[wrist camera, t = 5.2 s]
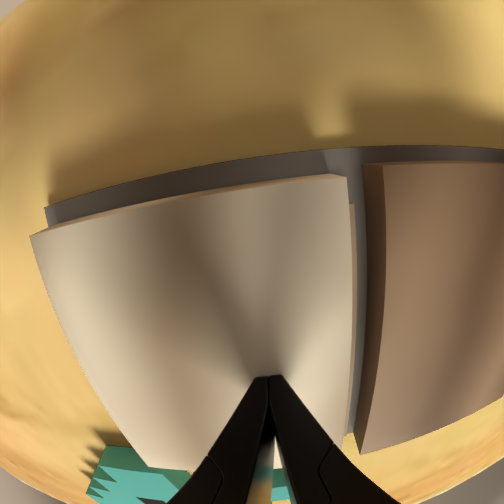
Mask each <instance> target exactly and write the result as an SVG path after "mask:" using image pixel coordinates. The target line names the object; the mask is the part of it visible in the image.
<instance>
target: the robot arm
mask: <svg viewBox="0 0 504 504" xmlns="http://www.w3.org/2000/svg"><path fill="white" fill-rule="evenodd" d="M275 439H276V444H277V448H278V452H279V457H280V461H281V465H282V469H283V473H284V477H285V481H286V485H287V489H288V493H289V497H290V501H291V504H401V503H399V502H398V501H396V500H395V499H393V498H392V497H391V496H390V495H388V494H387V493H386V492H385V491H383V490H382V489H381V488H380V487H378V486H377V485H376V484H375V483H374V482H372V481H371V480H370V479H369V478H368V477H366V476H365V475H364V474H363V473H362V472H361V471H360V470H359V469H358V468H357V467H356V466H354V465H353V464H352V463H351V461H350V460H349V459H348V458H347V457H346V456H345V455H344V454H343V452H342V451H341V450H340V449H339V448H338V446H337V445H336V444H334V442H333V440H332V439H331V438H330V437H329V435H328V434H327V433H326V432H325V430H324V429H323V428H322V426H321V425H320V424H319V423H318V421H317V420H316V419H315V417H314V416H313V415H312V414H311V412H310V411H309V410H308V408H307V407H306V406H305V404H304V403H303V402H302V401H301V399H300V398H299V397H298V395H297V394H296V393H295V391H294V390H293V389H292V387H291V386H290V385H289V383H288V382H287V381H286V379H285V378H284V376H283V375H281V374H277V375H270V376H269V377H268V376H260V377H255V378H254V379H253V381H252V383H251V384H250V386H249V388H248V389H247V391H246V393H245V394H244V396H243V398H242V399H241V401H240V403H239V404H238V406H237V408H236V409H235V411H234V413H233V414H232V416H231V417H230V419H229V421H228V422H227V424H226V425H225V427H224V429H223V430H222V432H221V433H220V435H219V436H218V438H217V440H216V441H215V443H214V444H213V446H212V447H211V449H210V450H209V452H208V453H207V455H208V456H205V458H204V459H203V461H202V462H201V464H200V465H199V466H198V468H197V469H196V470H195V472H194V473H193V474H192V476H191V477H190V478H189V479H188V481H187V482H186V483H185V484H184V485H183V486H182V487H181V488H180V490H179V491H178V492H177V493H176V494H175V495H174V496H173V497H172V498H171V499H170V500H169V501H168V502H167V503H166V504H271V493H272V480H273V467H274V452H275Z"/></svg>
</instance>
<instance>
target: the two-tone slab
mask: <svg viewBox="0 0 504 504" xmlns="http://www.w3.org/2000/svg"><path fill="white" fill-rule="evenodd" d="M321 174H335V175H339V176H344V177H347V187H348V199H349V201H350V202H352V203H354V211H355V228H356V252H357V319H356V343H355V359H354V372H353V383H352V393H351V403H350V411H349V419H348V426H347V433H352V432H353V433H354V436H355V440H356V443H357V447H358V450H359V454H360V455H363V454H366V453H370V452H374V451H377V450H381V449H384V448H388V447H391V446H394V445H397V444H400V443H403V442H406V441H409V440H412V439H415V438H417V437H420V436H423V435H425V434H428V433H430V432H433V431H435V430H438V429H440V428H442V427H445V426H447V425H449V424H451V423H454V422H456V421H458V420H460V419H462V418H464V417H466V416H468V415H470V414H472V413H474V412H476V411H478V410H480V409H482V408H483V407H485V406H487V405H489V404H491V403H492V402H494V401H496V400H498V399H499V398H501V397H502V396H503V394H504V150H502V149H491V148H478V147H461V146H429V145H402V146H368V147H350V148H335V149H322V150H311V151H301V152H292V153H283V154H275V155H267V156H260V157H253V158H246V159H240V160H233V161H227V162H221V163H216V164H210V165H205V166H199V167H194V168H189V169H184V170H179V171H174V172H170V173H165V174H161V175H156V176H152V177H148V178H143V179H139V180H135V181H131V182H127V183H123V184H120V185H116V186H112V187H108V188H105V189H101V190H98V191H94V192H91V193H87V194H84V195H81V196H77V197H74V198H71V199H68V200H65V201H62V202H59V203H56V204H53V205H50V206H47V207H44V209H45V214H46V218H47V222H48V226H49V227H51V226H53V225H56V224H59V223H63V222H66V221H70V220H74V219H77V218H81V217H85V216H89V215H93V214H97V213H101V212H105V211H109V210H113V209H117V208H122V207H126V206H130V205H135V204H140V203H144V202H149V201H154V200H158V199H163V198H168V197H173V196H178V195H184V194H189V193H194V192H200V191H206V190H211V189H217V188H223V187H230V186H236V185H242V184H249V183H256V182H263V181H270V180H278V179H286V178H294V177H302V176H311V175H321ZM347 433H346V434H347Z"/></svg>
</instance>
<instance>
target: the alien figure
mask: <svg viewBox="0 0 504 504" xmlns="http://www.w3.org/2000/svg"><path fill="white" fill-rule="evenodd" d="M190 477H191V475H190V474H189V473H188V472H187V471H186V470H174V469H163V468H154V467H148V465H147V464H146V463H145V462H144V461H143V459H142V458H141V457H140V456H139V454H138V453H137V452H136V451H135V449H134V448H127V447H118V446H109V445H106V448H105V450H104V452H103V455H102V457H101V460H100V461H99V463H98V466H97V468H96V471H95V473H94V475H93V477H92V479H91V482H90V484H89V487H88V489H87V492H86V494H87V495H89V496H90V497H91V498H93V499H94V500H95V501H97V502H98V503H100V504H166V503H167V502H168V501H169V500H170V499H171V498H172V497H173V496H174V495H175V494H176V493H177V492H178V491H179V490H180V488H181V487H182V486H183V485H184V484H185V483H186V482H187V481H188V479H189V478H190ZM286 499H290V497H289V493H288V489H287V485H286V481H285V477H284V473H283V469H282V468H278V469H273V480H272V493H271V504H272V501H278V500H286Z"/></svg>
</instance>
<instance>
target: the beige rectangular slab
mask: <svg viewBox="0 0 504 504" xmlns="http://www.w3.org/2000/svg"><path fill="white" fill-rule="evenodd" d="M30 240H31V244H32V247H33V251H34V254H35V257H36V261H37V264H38V267H39V270H40V273H41V276H42V279H43V282H44V285H45V288H46V290H47V293H48V296H49V298H50V301H51V303H52V306H53V308H54V311H55V313H56V316H57V318H58V320H59V323H60V325H61V327H62V329H63V332H64V334H65V336H66V338H67V340H68V342H69V344H70V346H71V348H72V350H73V352H74V354H75V356H76V358H77V360H78V362H79V364H80V366H81V368H82V370H83V372H84V373H85V375H86V377H87V379H88V380H89V382H90V384H91V386H92V387H93V389H94V391H95V392H96V394H97V396H98V397H99V399H100V401H101V402H102V404H103V405H104V407H105V408H106V410H107V411H108V413H109V415H110V416H111V417H112V419H113V420H114V422H115V423H116V425H117V426H118V428H119V429H120V430H121V432H122V433H123V435H124V436H125V437H126V439H127V440H128V441H129V443H130V444H131V445H132V447H133V448H134V449H135V451H136V452H137V453H138V454H139V456H140V457H141V458H142V459H143V461H144V462H145V463H146V464H147V465H148V467H154V468H163V469H174V470H188V471H195V470H196V469H197V468H198V466H199V465H200V464H201V462H202V461H203V459H204V458H205V456H208V455H207V453H208V452H209V450H210V449H211V447H212V446H213V444H214V443H215V441H216V440H217V438H218V436H219V435H220V433H221V432H222V430H223V429H224V427H225V425H226V424H227V422H228V421H229V419H230V417H231V416H232V414H233V413H234V411H235V409H236V408H237V406H238V404H239V403H240V401H241V399H242V398H243V396H244V394H245V393H246V391H247V389H248V388H249V386H250V384H251V383H252V381H253V379H254V378H255V377H260V376H268V377H269V376H270V375H277V374H281V375H283V376H284V378H285V379H286V381H287V382H288V383H289V385H290V386H291V387H292V389H293V390H294V391H295V393H296V394H297V395H298V397H299V398H300V399H301V401H302V402H303V403H304V404H305V406H306V407H307V408H308V410H309V411H310V412H311V414H312V415H313V416H314V417H315V419H316V420H317V421H318V423H319V424H320V425H321V426H322V428H323V429H324V430H325V432H326V433H327V434H328V435H329V437H330V438H331V439H332V440H333V442H334V444H336V445H337V446H338V448H339V449H340V450H341V447H342V440H343V436H346V433H347V426H348V419H349V411H350V403H351V393H352V383H353V372H354V359H355V343H356V319H357V252H356V228H355V211H354V203H352V202H350V201H349V199H348V187H347V177H344V176H339V175H335V174H321V175H311V176H302V177H294V178H286V179H278V180H270V181H263V182H256V183H249V184H242V185H236V186H230V187H223V188H217V189H211V190H206V191H200V192H194V193H189V194H184V195H178V196H173V197H168V198H163V199H158V200H154V201H149V202H144V203H140V204H135V205H130V206H126V207H122V208H117V209H113V210H109V211H105V212H101V213H97V214H93V215H89V216H85V217H81V218H77V219H74V220H70V221H66V222H63V223H59V224H56V225H53V226H51V227H49V228H46V229H44V230H42V231H40V232H37V233H35V234H33V235H31V236H30ZM278 468H282V465H281V461H280V457H279V452H278V448H277V444H276V439H275V452H274V467H273V469H278Z"/></svg>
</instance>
